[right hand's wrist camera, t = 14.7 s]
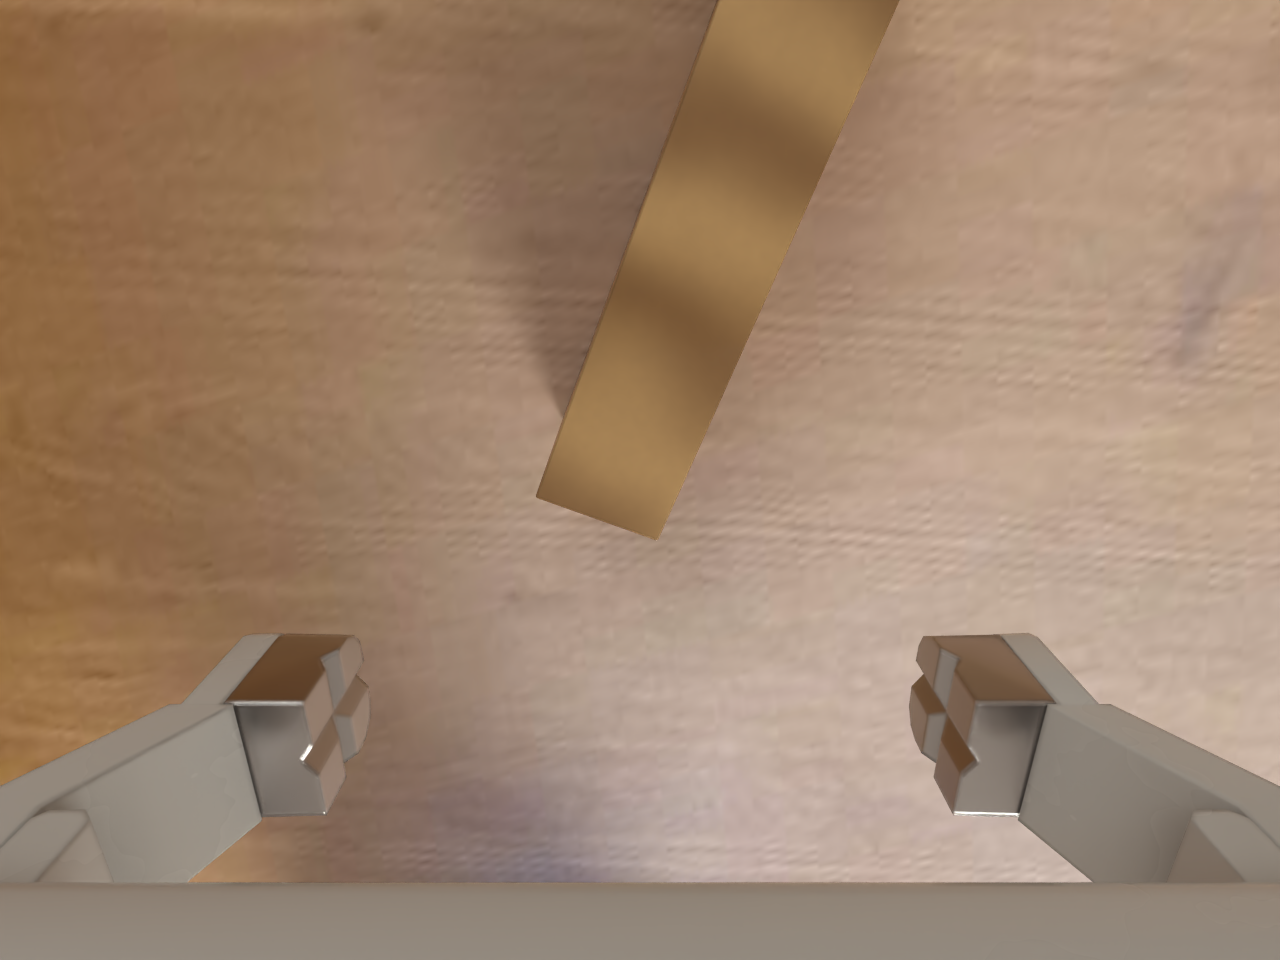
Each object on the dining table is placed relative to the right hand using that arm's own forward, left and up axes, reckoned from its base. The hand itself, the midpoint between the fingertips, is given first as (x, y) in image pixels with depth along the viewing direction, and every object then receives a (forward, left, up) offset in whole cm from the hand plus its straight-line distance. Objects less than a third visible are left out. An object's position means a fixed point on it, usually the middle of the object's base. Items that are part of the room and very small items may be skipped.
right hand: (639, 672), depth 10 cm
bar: (+5, +5, -23) cm, 24 cm away
